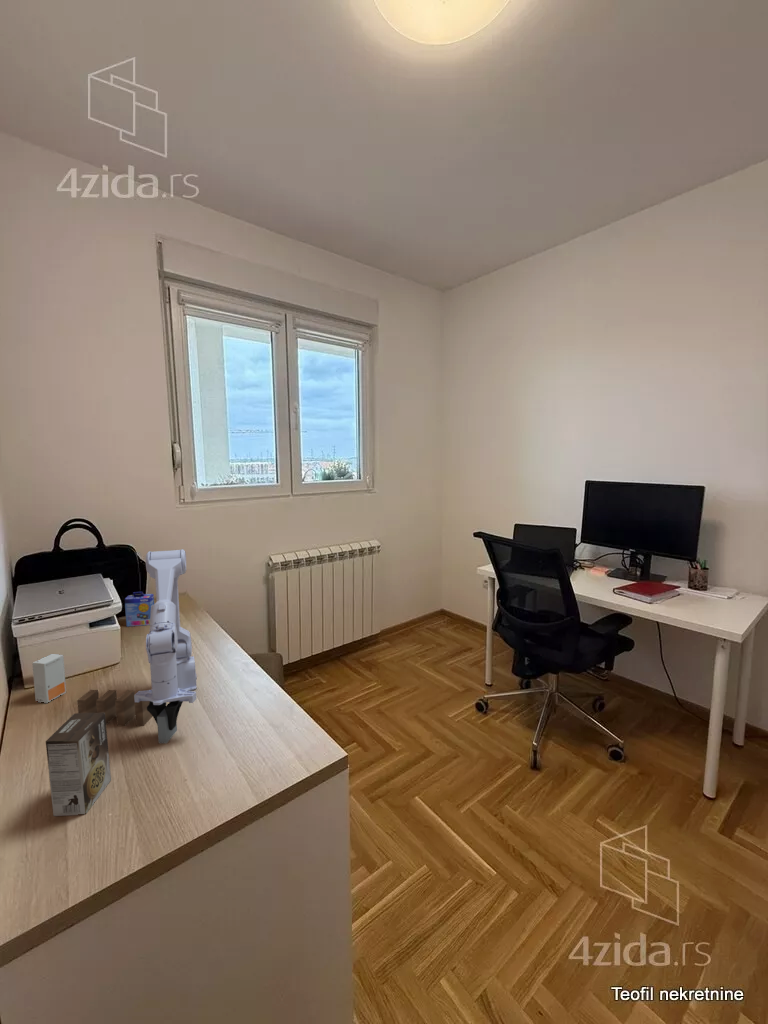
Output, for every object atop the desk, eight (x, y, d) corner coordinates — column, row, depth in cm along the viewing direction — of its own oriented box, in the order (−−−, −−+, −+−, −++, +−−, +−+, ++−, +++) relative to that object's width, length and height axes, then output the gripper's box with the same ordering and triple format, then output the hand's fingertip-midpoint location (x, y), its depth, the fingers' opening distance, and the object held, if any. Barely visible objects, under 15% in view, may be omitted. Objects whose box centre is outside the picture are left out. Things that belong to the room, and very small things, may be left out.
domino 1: (79, 725, 109) (77, 700, 108) (92, 713, 114) (90, 689, 113) (86, 725, 109) (84, 700, 108) (100, 713, 114) (98, 689, 113)
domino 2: (98, 725, 109) (96, 700, 108) (110, 713, 114) (108, 689, 113) (105, 725, 109) (103, 700, 108) (118, 713, 114) (116, 690, 113)
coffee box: (81, 781, 90) (74, 712, 88) (112, 780, 91) (106, 710, 89) (51, 817, 81) (43, 741, 79) (86, 815, 82) (79, 739, 80)
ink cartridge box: (125, 627, 173) (123, 593, 171) (130, 622, 178) (128, 589, 176) (151, 625, 175) (149, 591, 173) (155, 620, 180) (153, 588, 179)
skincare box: (47, 704, 118) (43, 664, 117) (35, 702, 119) (31, 662, 118) (67, 692, 124) (63, 654, 123) (55, 690, 125) (52, 653, 124)
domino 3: (117, 725, 109) (115, 700, 108) (129, 714, 114) (127, 690, 113) (124, 725, 109) (122, 700, 108) (136, 714, 114) (134, 690, 113)
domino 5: (158, 743, 102) (156, 716, 101) (169, 730, 107) (167, 704, 106) (166, 743, 102) (165, 716, 101) (177, 730, 107) (175, 704, 106)
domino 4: (136, 725, 109) (134, 700, 108) (147, 714, 114) (145, 690, 113) (143, 726, 109) (142, 701, 108) (154, 714, 114) (152, 690, 113)
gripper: (125, 684, 99) (128, 737, 101) (185, 685, 99) (188, 738, 100) (142, 670, 106) (145, 719, 108) (199, 670, 106) (201, 720, 107)
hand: (167, 727), depth 104 cm, fingers closed on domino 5, 2 cm apart
